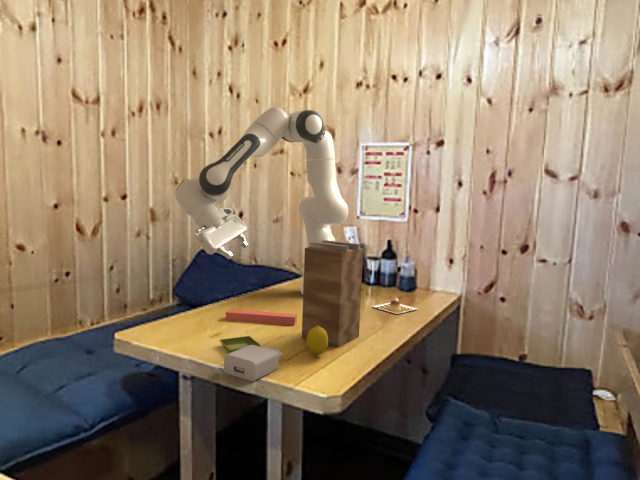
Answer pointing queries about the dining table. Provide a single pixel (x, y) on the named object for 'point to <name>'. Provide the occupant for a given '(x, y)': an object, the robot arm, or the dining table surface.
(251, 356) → the charger
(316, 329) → the lemon
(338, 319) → the wooden knife block
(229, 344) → the green square tray
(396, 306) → the dessert
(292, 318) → the salmon red bar
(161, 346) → the dining table surface
